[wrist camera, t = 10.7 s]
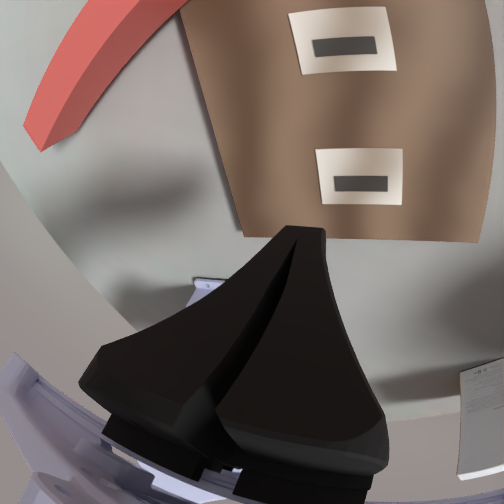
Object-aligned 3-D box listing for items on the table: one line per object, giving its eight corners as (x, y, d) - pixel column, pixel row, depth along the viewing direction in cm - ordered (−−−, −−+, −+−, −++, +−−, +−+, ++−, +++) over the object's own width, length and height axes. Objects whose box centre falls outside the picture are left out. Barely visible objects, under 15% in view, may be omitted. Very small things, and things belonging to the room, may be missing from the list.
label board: (248, 229, 22) (243, 238, 22) (167, -63, 9) (156, -66, 8) (474, 234, 16) (478, 244, 15) (440, -96, 2) (444, -103, 1)
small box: (458, 371, 26) (455, 475, 16) (505, 356, 22) (511, 462, 12) (464, 394, 28) (459, 481, 19) (503, 382, 24) (505, 470, 15)
